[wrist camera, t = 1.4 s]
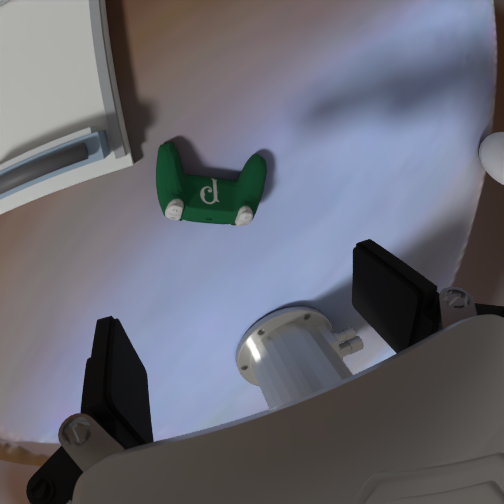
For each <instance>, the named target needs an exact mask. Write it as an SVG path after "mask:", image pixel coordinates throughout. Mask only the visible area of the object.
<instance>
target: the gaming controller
mask: <svg viewBox="0 0 504 504" xmlns="http://www.w3.org/2000/svg"><path fill="white" fill-rule="evenodd" d="M266 173H267V171H266V162H265V160H264V159H263V158H262V157H261V156H259V155H258V154H254V155H252V156H251V157H250V158H249V160H248V161H247V163H246V164H245V166H244V168H243V170H242V172H241V174H240V176H239V177H238V179H237V180H235V181H233V180H227V179H220V178H212V177H203V176H193V175H186V174H184V172H183V171H182V167H181V163H180V158H179V154H178V152H177V150H176V148H175V146H174V144H173V142H170V143H166V144H163V145H160V147H159V150H158V157H157V165H156V187H157V194H158V199H159V203H160V206H161V208H162V211H163V214H164V216H165V217H167V218H169V219H173V220H180V221H181V220H187V221H193V222H201V223H213V224H231V225H238V226H242V225H247V224H249V223H250V222H251V221H252V219H253V218H254V215H255V213H256V211H257V208H258V205H259V202H260V199H261V196H262V193H263V189H264V183H265V178H266Z"/></svg>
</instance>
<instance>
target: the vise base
mask: <svg viewBox="0 0 504 504" xmlns="http://www.w3.org/2000/svg"><path fill="white" fill-rule="evenodd" d="M93 126H98V130H99V131H102V130H105V131H106V136H107V140H108V144H109V148H110V153H111V154H110V155H108V156H107V157H106V158H105V159H102V160H99V161H96V162H93V163H90V164H87V165H84V166H82V167H79V168H76V169H73V170H70V171H68V172H65V173H62V174H60V175H57V176H55V177H52V178H49V179H47V180H44V181H42V182H39V183H37V184H35V185H32V186H30V187H28V188H25V189H23V190H21V191H18V192H16V193H14V194H12V195H9V196H7V197H5V198H3V199H1V200H0V214H2V213H4V212H7V211H9V210H11V209H13V208H16V207H18V206H20V205H23V204H25V203H28V202H30V201H32V200H35V199H37V198H40V197H42V196H45V195H47V194H50V193H53V192H55V191H58V190H61V189H63V188H66V187H69V186H71V185H74V184H77V183H80V182H83V181H86V180H89V179H92V178H95V177H98V176H101V175H104V174H107V173H110V172H113V171H116V170H119V169H123V168H126V167H129V166H133V165H134V161H133V157H132V153H131V149H130V144H129V140H128V136H127V131H126V127H125V122H124V117H123V112H122V108H121V103H120V97H119V92H118V87H117V81H116V76H115V70H114V64H113V57H112V51H111V44H110V37H109V29H108V21H107V13H106V4H105V0H0V165H1V164H3V163H5V162H7V161H9V160H11V159H13V158H15V157H17V156H19V155H22V154H24V153H26V152H28V151H30V150H33V149H35V148H37V147H39V146H42V145H44V144H47V143H49V142H51V141H54V140H56V139H59V138H61V137H64V136H67V135H69V134H72V133H75V132H77V131H80V130H83V129H86V128H89V127H93Z"/></svg>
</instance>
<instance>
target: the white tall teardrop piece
mask: <svg viewBox="0 0 504 504" xmlns="http://www.w3.org/2000/svg"><path fill="white" fill-rule="evenodd" d="M479 158H480V160H481V163H482V166H483V167H484V169H485V170H486V171H487V172H488V173H489V175H490V176H492V177H493V178H494V179H495V180H496V181H498V182H499V183H501V184H503V185H504V132H497V133H493V134H491V135H489V136H487V137H486V138H485V140H484V141H482V143H481V145H480V148H479Z"/></svg>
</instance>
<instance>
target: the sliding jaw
mask: <svg viewBox="0 0 504 504" xmlns="http://www.w3.org/2000/svg"><path fill="white" fill-rule="evenodd" d="M110 154H111V153H110V148H109V144H108V140H107V136H106V131H105V130H102V131H99V130H98V126H93V127H89V128H86V129H83V130H80V131H77V132H75V133H72V134H69V135H67V136H64V137H61V138H59V139H56V140H54V141H51V142H49V143H47V144H44V145H42V146H39V147H37V148H35V149H33V150H30V151H28V152H26V153H24V154H22V155H19V156H17V157H15V158H13V159H11V160H9V161H7V162H5V163H3V164H1V165H0V200H1V199H3V198H5V197H7V196H9V195H12V194H14V193H16V192H18V191H21V190H23V189H25V188H28V187H30V186H32V185H35V184H37V183H39V182H42V181H44V180H47V179H49V178H52V177H55V176H57V175H60V174H62V173H65V172H68V171H70V170H73V169H76V168H79V167H82V166H84V165H87V164H90V163H93V162H96V161H99V160H102V159H105V158H106V157H107V156H108V155H110Z"/></svg>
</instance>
